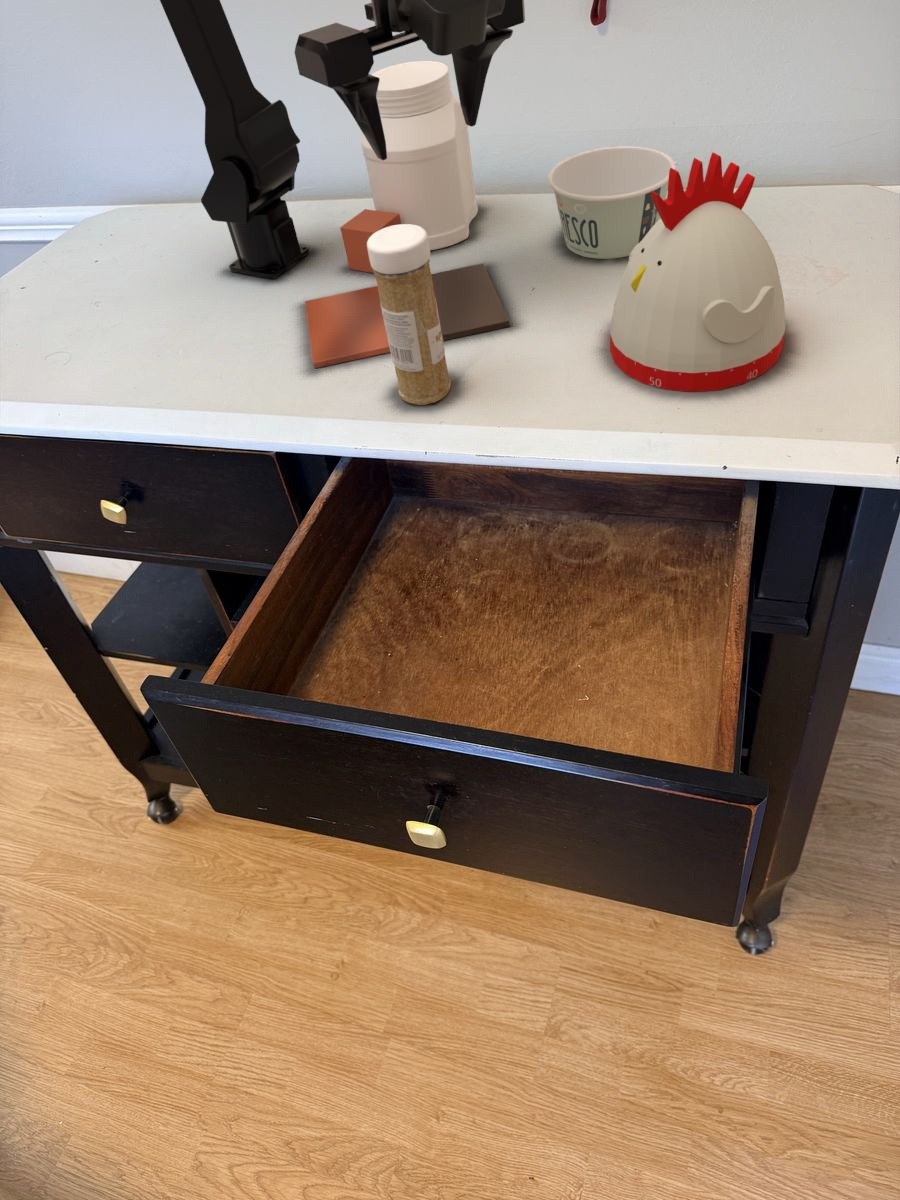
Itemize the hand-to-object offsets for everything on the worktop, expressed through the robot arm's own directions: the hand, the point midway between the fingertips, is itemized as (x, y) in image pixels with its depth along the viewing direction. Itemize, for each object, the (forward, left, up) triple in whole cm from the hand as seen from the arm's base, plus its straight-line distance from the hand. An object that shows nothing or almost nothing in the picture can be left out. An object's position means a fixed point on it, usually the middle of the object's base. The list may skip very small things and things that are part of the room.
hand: (427, 141), depth 79 cm
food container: (+11, +14, -14) cm, 22 cm away
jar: (-9, +11, -14) cm, 20 cm away
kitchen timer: (+26, -2, -14) cm, 29 cm away
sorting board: (-1, -6, -13) cm, 15 cm away
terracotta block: (-10, +2, -13) cm, 17 cm away
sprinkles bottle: (+8, -16, -14) cm, 23 cm away
